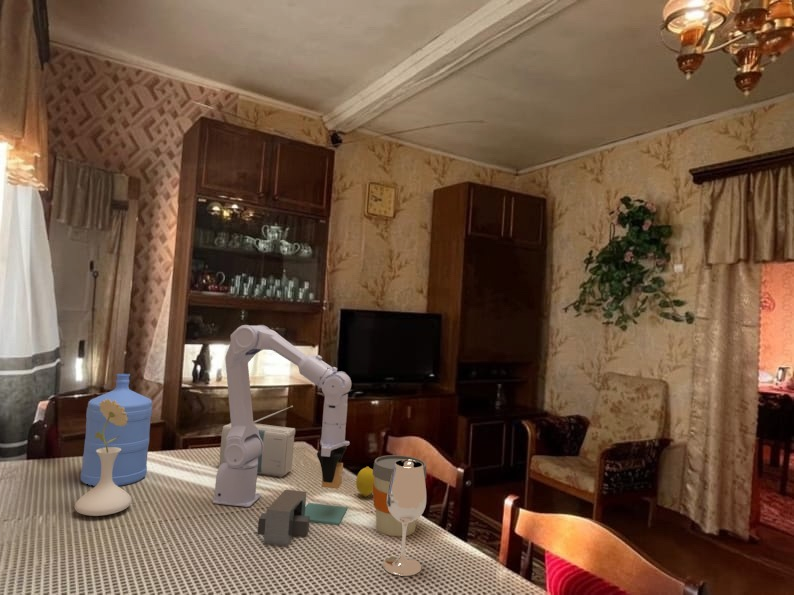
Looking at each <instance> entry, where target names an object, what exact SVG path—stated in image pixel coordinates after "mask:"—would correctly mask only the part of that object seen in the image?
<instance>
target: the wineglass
mask: <svg viewBox="0 0 794 595" xmlns="http://www.w3.org/2000/svg"><path fill="white" fill-rule="evenodd" d="M426 485H427V484H426V479H425V477H424V470H423V464H422V463H421V462H418V461H414V460H398V461H396V462H395V464H394V468H393V471H392V475H391V478H390V482H389V487H388V492H387V507H388V510H389V512H390V514H391V515H392V516H393V517H394V518H395V519H396V520H397V521H399V522H401V523H402V536H401V550H400V551H401V552H400V555H395V556H390V557H388V558H386V559H384V560H383V561H382V567H383V569H384V571H386V572H387V573H389V574H392V575H395V576H400V577H410V576H415V575H417V574H418V573H420V572H421V571H422V565H421V563H420V562H419V561H418V560H416V559H414V558H412V557H410V556H406V539H407V536H406V530H407V526H408V523H411V522H413V521H415V520H417V521H418V519H419V518H420V517H421V516H422V515H423V513H424V511H425V509H426V505H427V488H426Z"/></svg>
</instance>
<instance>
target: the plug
mask: <svg viewBox="0 0 794 595" xmlns="http://www.w3.org/2000/svg"><path fill="white" fill-rule="evenodd" d="M343 468H344V462H340V463H339V462H338V463H337V466H336V470H335V475H334V479H333V481H332V483H330V482H324V481H323V476H322V475H321V479H322V480H321V488H328V489H336V490H337V489H339V488H340V487H341V485H342V482H343V477H344V475H345V474H346V471H345V470H343Z"/></svg>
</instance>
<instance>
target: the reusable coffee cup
mask: <svg viewBox="0 0 794 595" xmlns="http://www.w3.org/2000/svg"><path fill="white" fill-rule="evenodd" d="M398 460H414V461H418V462H421V463H422V464H423V470H424V477H425V480H426V479H427V464H426V462H425V461H424V460H422V459H419V458H417V457H413V456H406V455H397V454H396V455H395V454H394V455H393V454H392V455H382V456H379V457H377V458H375V459H374V463H373V468H372V470H373V475H374V484H373V493H372V496H373V497H372V498H373V499H372V500H373V506H374V508H375V519H376V520H375V522H376V529H377V530H378V531H379V532H380V533H382V534H384V535H386V536H390V537H391V536H392V537H402V523H401V522H399V521H397V520H396V519H395V518H394V517H393V516H392V515H391V514H390V512H389V510H388V507H387V492H388V487H389V482H390V478H391V475H392V471H393V468H394V464H395V462H396V461H398ZM417 522H418V519H417V520H415V521H413V522H411V523H408V526H407V530H406V537H407V536H411V535H412V534H413V533H414V532H416V528H417Z"/></svg>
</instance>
